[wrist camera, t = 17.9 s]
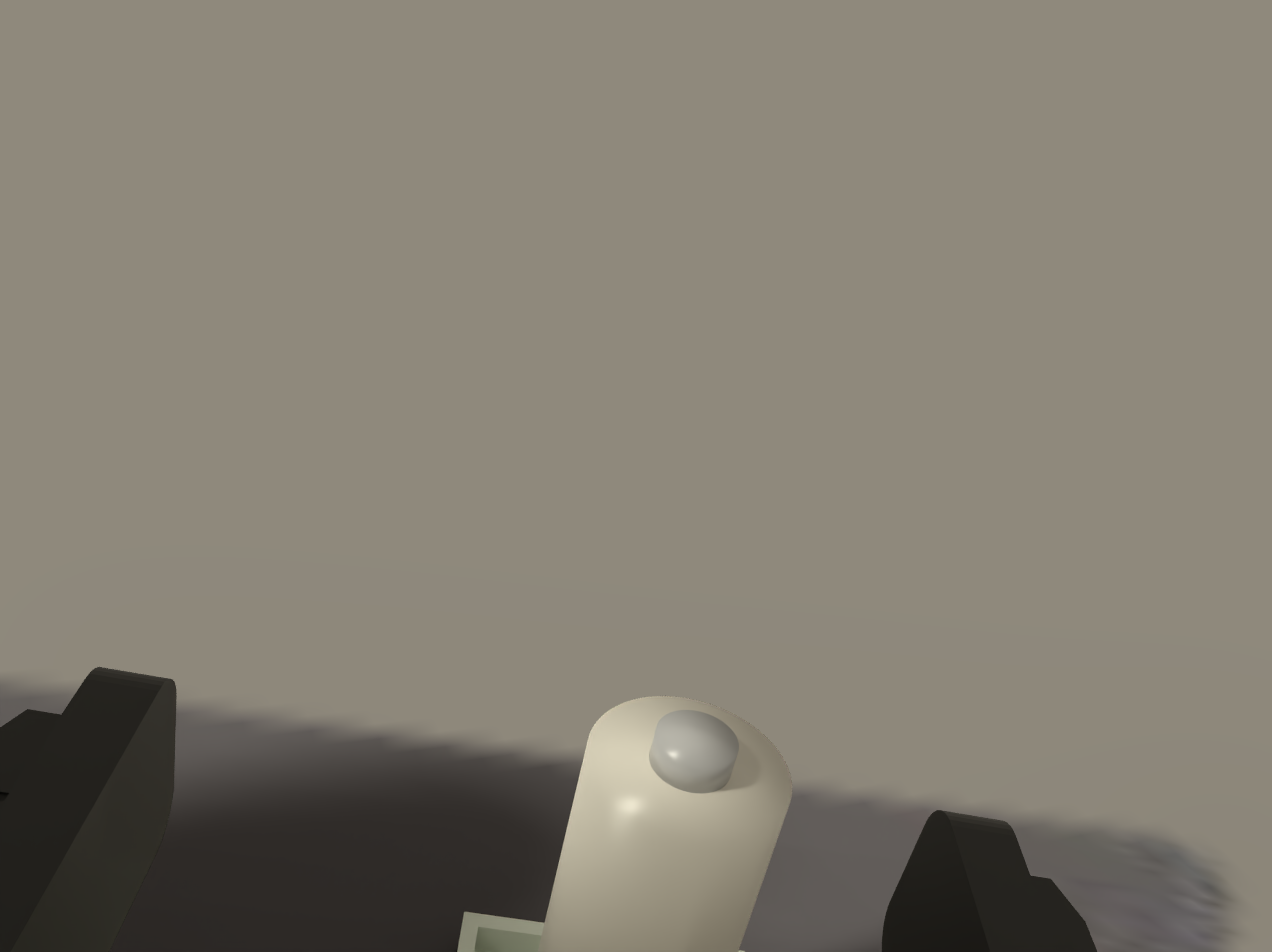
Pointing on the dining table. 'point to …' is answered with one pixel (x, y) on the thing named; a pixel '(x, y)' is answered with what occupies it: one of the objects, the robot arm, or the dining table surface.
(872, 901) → the dining table surface
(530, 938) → the tray
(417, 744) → the dining table surface
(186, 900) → the dining table surface
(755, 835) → the battery cell
